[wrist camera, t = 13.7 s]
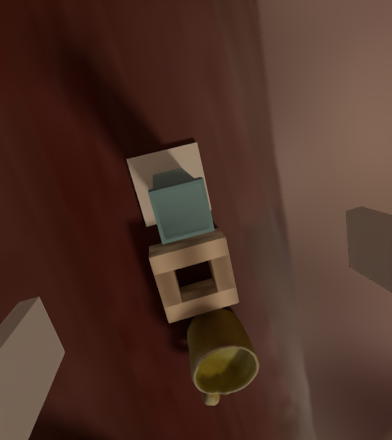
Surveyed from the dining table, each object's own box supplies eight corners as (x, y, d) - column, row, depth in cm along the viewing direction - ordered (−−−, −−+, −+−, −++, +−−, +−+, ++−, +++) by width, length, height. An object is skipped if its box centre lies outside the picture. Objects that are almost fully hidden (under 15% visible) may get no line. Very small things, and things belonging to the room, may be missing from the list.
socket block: (167, 306, 40) (168, 323, 36) (149, 246, 37) (148, 258, 33) (231, 287, 41) (239, 302, 37) (218, 227, 38) (225, 237, 34)
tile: (146, 225, 36) (146, 226, 35) (126, 159, 33) (126, 159, 33) (210, 208, 37) (211, 209, 36) (196, 142, 34) (196, 142, 33)
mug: (195, 294, 38) (224, 361, 30) (245, 301, 43) (281, 359, 36) (157, 348, 42) (174, 418, 34) (207, 348, 48) (232, 409, 40)
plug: (158, 206, 35) (162, 244, 22) (149, 173, 34) (147, 192, 20) (191, 197, 35) (214, 230, 22) (183, 164, 34) (203, 178, 21)
